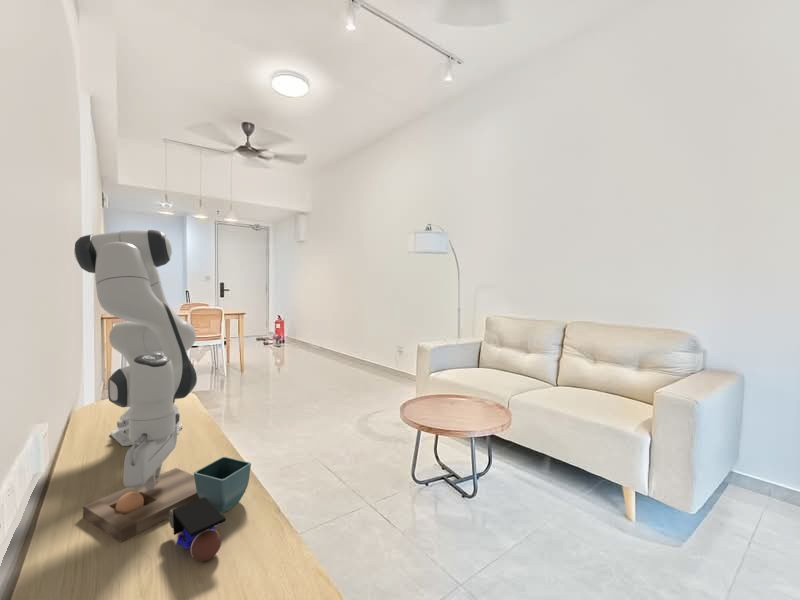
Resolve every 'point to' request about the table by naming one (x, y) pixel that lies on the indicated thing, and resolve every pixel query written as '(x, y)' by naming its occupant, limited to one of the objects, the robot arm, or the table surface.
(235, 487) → the flower pot
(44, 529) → the table surface
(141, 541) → the table surface
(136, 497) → the rubber ball
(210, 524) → the figurine character
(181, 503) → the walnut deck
